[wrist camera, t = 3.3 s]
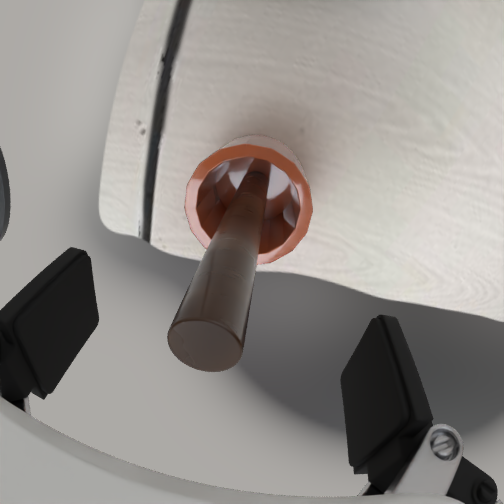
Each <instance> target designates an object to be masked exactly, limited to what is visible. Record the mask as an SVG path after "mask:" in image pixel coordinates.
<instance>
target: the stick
mask: <svg viewBox="0 0 504 504" xmlns="http://www.w3.org/2000/svg"><path fill="white" fill-rule="evenodd" d="M268 187H269V182H268V179H267V177H266V176H265V175H264V174H262V173H260V172H257V171H253V172H249V173H247V174H246V175H245V176H244V177H243V179H242V181H241V183H240V185H239V187H238V189H237V191H236V193H235V195H234V197H233V198H232V200H231V202H230V204H229V206H228V208H227V210H226V212H225V214H224V216H223V218H222V220H221V222H220V224H219V226H218V228H217V230H216V232H215V234H214V236H213V238H212V240H211V242H210V244H209V246H208V248H207V250H206V252H205V254H204V256H203V258H202V260H201V262H200V265H199V267H198V269H197V271H196V273H195V275H194V277H193V279H192V281H191V283H190V286H189V288H188V290H187V292H186V294H185V296H184V298H183V300H182V302H181V305H180V307H179V309H178V311H177V313H176V316H175V318H174V320H173V322H172V324H171V327H170V329H169V331H168V336H167V338H168V344H169V347H170V349H171V351H172V353H173V354H174V355H175V356H176V357H177V358H178V359H179V360H180V361H182V362H183V363H184V364H186V365H188V366H190V367H192V368H194V369H197V370H201V371H207V372H220V371H224V370H228V369H229V368H232V367H233V366H235V365H236V364H237V363H238V362H239V360H240V359H241V357H242V353H243V347H244V342H245V335H246V328H247V322H248V316H249V310H250V303H251V297H252V290H253V285H254V278H255V272H256V265H257V259H258V252H259V246H260V239H261V233H262V226H263V220H264V213H265V207H266V200H267V194H268Z"/></svg>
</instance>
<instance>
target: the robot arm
mask: <svg viewBox="0 0 504 504" xmlns="http://www.w3.org/2000/svg"><path fill="white" fill-rule="evenodd" d="M98 322H99V315H98V309H97V303H96V296H95V290H94V281H93V274H92V265H91V258H90V257H89V256H88V254H87V252H86V251H84V250H81V249H77V248H73V247H71V248H69V249H67V250H66V251H65V252H64V253H63V254H61V255H60V256H59V257H58V258H57V259H56V260H54V261H53V262H52V263H51V264H50V265H48V266H47V267H46V268H45V269H44V270H43V271H42V272H40V273H39V274H38V275H37V276H36V277H35V278H34V279H33V280H32V281H31V282H29V283H28V284H27V285H26V286H25V287H24V288H23V289H22V290H21V291H20V292H19V293H18V294H17V295H16V296H15V297H13V298H12V300H10V301H9V302H8V303H7V304H6V305H5V306H4V307H3V308H2V309H1V310H0V504H503V503H502V502H501V500H498V501H496V500H497V486H496V483H495V482H494V480H493V479H492V478H491V477H490V476H489V475H487V474H486V473H484V472H483V471H482V470H480V469H479V468H478V467H476V466H475V465H474V464H472V463H471V462H469V461H468V460H467V459H465V458H464V457H463V456H462V455H463V450H464V448H463V441H462V439H461V436H460V435H459V434H458V432H457V431H456V430H454V428H452V427H450V426H448V425H445V424H438V425H434V426H433V424H432V420H433V416H432V414H431V410H430V407H429V404H428V400H427V397H426V394H425V392H424V388H423V386H422V382H421V379H420V377H419V374H418V371H417V368H416V366H415V363H414V360H413V358H412V355H411V352H410V350H409V347H408V344H407V342H406V339H405V337H404V334H403V332H402V329H401V327H400V325H399V322H398V320H397V318H396V317H392V316H386V315H379V316H377V318H373V319H372V320H371V321H370V323H369V325H368V327H367V329H366V331H365V333H364V335H363V337H362V338H361V340H360V342H359V344H358V346H357V348H356V349H355V351H354V353H353V355H352V356H351V358H350V360H349V362H348V364H347V365H346V367H345V369H344V370H343V372H342V375H341V389H342V397H343V405H344V414H345V424H346V434H347V445H348V457H349V464H350V466H353V467H354V474H368V483H367V484H366V485H365V487H364V488H363V489H362V490H361V492H360V493H359V495H357V496H352V497H304V496H285V495H273V494H263V493H254V492H246V491H240V490H234V489H228V488H221V487H217V486H211V485H207V484H202V483H198V482H193V481H189V480H185V479H181V478H177V477H173V476H169V475H166V474H163V473H159V472H156V471H153V470H150V469H147V468H144V467H140V466H137V465H135V464H132V463H129V462H126V461H124V460H121V459H118V458H115V457H113V456H111V455H108V454H106V453H104V452H101V451H99V450H96V449H94V448H92V447H90V446H87V445H85V444H83V443H81V442H79V441H76V440H75V439H73V438H70V437H68V436H66V435H64V434H62V433H61V432H59V431H57V430H55V429H53V428H51V427H49V426H48V425H46V424H44V423H42V422H40V421H39V420H37V419H35V418H34V417H32V416H31V412H30V406H29V399H28V395H29V394H30V392H32V393H33V394H35V395H37V396H38V397H40V398H42V399H45V398H46V396H47V394H51V393H52V392H53V391H54V389H55V388H56V386H57V385H58V383H59V381H60V380H61V378H62V377H63V375H64V374H65V372H66V371H67V369H68V368H69V366H70V365H71V363H72V362H73V360H74V359H75V357H76V355H77V354H78V353H79V351H80V350H81V348H82V347H83V346H84V344H85V343H86V341H87V340H88V338H89V337H90V335H91V334H92V333H93V331H94V330H95V328H96V327H97V325H98Z"/></svg>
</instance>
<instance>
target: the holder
mask: <svg viewBox="0 0 504 504" xmlns="http://www.w3.org/2000/svg"><path fill="white" fill-rule="evenodd" d="M253 171H257V172H260V173H262V174H264V175H265V176H266V177H267V179H268V182H269V187H268V194H267V200H266V207H265V213H264V220H263V226H262V233H261V239H260V246H259V252H258V259H257V265H258V264H265V263H271V262H273V261H275V260H277V259H279V258H280V257H282V256H284V255H286V254H288V253H290V252H291V251H293V249H294V248H295V247H296V246H297V245H298V243H299V242H300V241H301V240H302V238H303V237H304V236H305V235H306V233H307V231H308V227H309V223H310V220H311V216H312V212H313V206H312V199H311V193H310V187H309V184H308V181H307V178H306V176H305V173H304V170H303V168H302V165H301V164H300V162H299V160H298V159H297V157H296V155H295V154H294V153H293V151H291V149H289V148H288V147H287V146H286V145H285V144H283V143H282V142H280V141H278V140H276V139H274V138H271V137H268V136H262V135H249V136H243V137H240V138H236V139H234V140H232V141H231V142H229V143H228V144H226V145H225V146H223V147H222V148H220V149H219V150H217V151H216V152H215V153H213V154H212V155H210V156H209V157H208V158H206V159H205V160H204V161H202V162H201V163H200V164H199V165H198V167H197V168H196V170H195V172H194V173H193V175H192V177H191V179H190V180H189V182H188V184H187V188H186V197H185V207H184V208H185V212H186V215H187V219H188V222H189V225H190V229H191V230H192V232H193V234H194V235H195V236H196V238H197V239H198V240H199V241H200V243H201V244H202V245H203V246H204V248H205V249H207V248H208V246H209V244H210V242H211V240H212V238H213V236H214V234H215V232H216V230H217V228H218V226H219V224H220V222H221V220H222V218H223V216H224V214H225V212H226V210H227V208H228V206H229V204H230V202H231V200H232V198H233V197H234V195H235V193H236V191H237V189H238V187H239V185H240V183H241V181H242V179H243V177H244V176H245V175H246V174H247V173H249V172H253Z"/></svg>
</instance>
